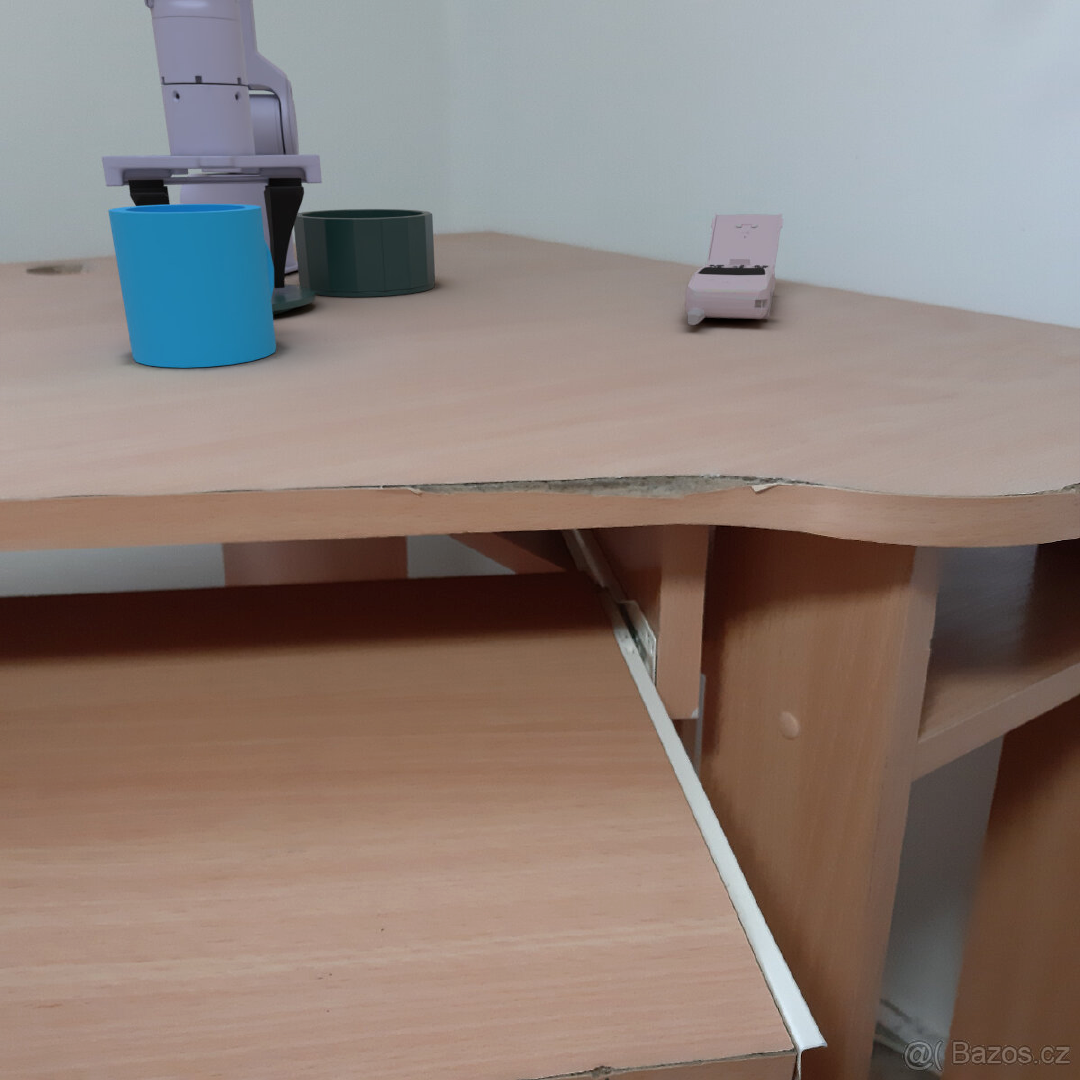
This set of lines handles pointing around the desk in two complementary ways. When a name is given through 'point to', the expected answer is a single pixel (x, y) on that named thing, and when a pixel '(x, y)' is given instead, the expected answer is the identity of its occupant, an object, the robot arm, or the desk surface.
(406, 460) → the desk surface
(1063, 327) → the desk surface
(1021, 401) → the desk surface
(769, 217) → the pale pink hinged device
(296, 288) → the lid
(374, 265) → the tin
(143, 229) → the mug
